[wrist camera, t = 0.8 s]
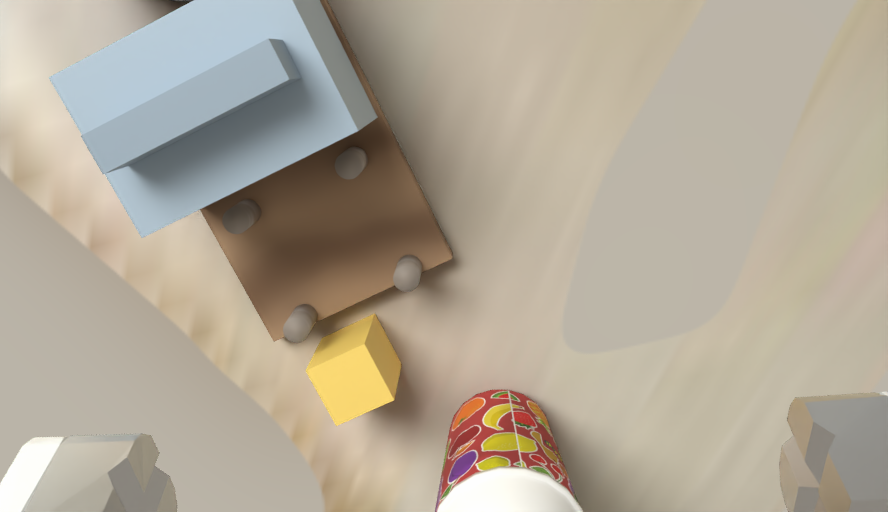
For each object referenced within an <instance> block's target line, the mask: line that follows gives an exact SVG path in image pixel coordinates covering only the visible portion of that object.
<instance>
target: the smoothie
mask: <svg viewBox="0 0 888 512" xmlns="http://www.w3.org/2000/svg"><path fill="white" fill-rule="evenodd" d="M435 512H583V509H582V508H581V506H580V505H579V504H578V501H577V498H576V496H575V493H574V490H573V488H572V485H571V482H570V480H569V477H568V474H567V472H566V469H565V466H564V464H563V461H562V458H561V456H560V453H559V451H558V448H557V445H556V443H555V440H554V437H553V435H552V432H551V429H550V427H549V424H548V421H547V419H546V416H545V414H544V413H543V411H542V410H541V409H540V408H539V406H538V405H537V404H536V403H535V402H534V401H532V400H531V399H529V398H528V397H526V396H525V395H523V394H520V393H517V392H514V391H510V390H490V391H486V392H483V393H480V394H477V395H475V396H473V397H472V398H471V399H469V400H468V401H466V402H465V403H463V405H462V406H461V407H460V409H459V410H458V411H457V412H456V414H455V415H454V417H453V420H452V424H451V427H450V430H449V436H448V442H447V447H446V453H445V458H444V464H443V470H442V475H441V481H440V486H439V492H438V498H437V503H436V509H435Z"/></svg>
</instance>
